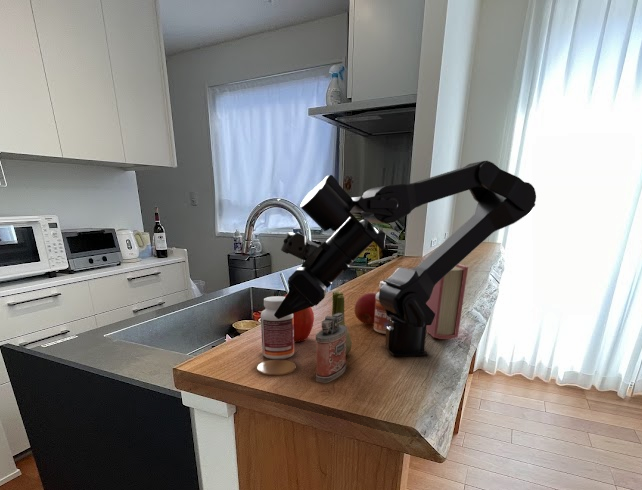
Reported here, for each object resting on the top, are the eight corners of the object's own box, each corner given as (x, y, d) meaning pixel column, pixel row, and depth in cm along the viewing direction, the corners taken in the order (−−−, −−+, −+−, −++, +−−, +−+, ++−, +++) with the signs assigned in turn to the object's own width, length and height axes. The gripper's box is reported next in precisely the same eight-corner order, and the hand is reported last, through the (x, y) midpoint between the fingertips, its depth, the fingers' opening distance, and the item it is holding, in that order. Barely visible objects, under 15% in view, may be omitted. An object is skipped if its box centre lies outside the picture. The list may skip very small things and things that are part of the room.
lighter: (329, 384, 60) (330, 323, 57) (311, 379, 62) (310, 320, 59) (350, 367, 67) (352, 312, 63) (333, 364, 69) (334, 309, 65)
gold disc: (295, 360, 71) (295, 359, 70) (296, 374, 64) (295, 373, 64) (258, 361, 71) (258, 360, 70) (255, 376, 64) (255, 374, 64)
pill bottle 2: (369, 332, 86) (371, 283, 82) (379, 325, 91) (382, 279, 87) (395, 336, 83) (399, 285, 79) (405, 329, 87) (409, 281, 84)
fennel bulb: (330, 348, 77) (330, 289, 73) (354, 350, 75) (356, 290, 71) (321, 358, 72) (322, 294, 68) (347, 360, 70) (349, 296, 66)
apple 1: (305, 332, 88) (305, 285, 84) (320, 342, 80) (320, 291, 77) (271, 336, 85) (269, 288, 82) (283, 347, 78) (282, 295, 74)
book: (432, 340, 79) (457, 341, 79) (442, 266, 74) (468, 267, 74) (415, 322, 93) (436, 323, 93) (422, 259, 88) (444, 259, 88)
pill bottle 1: (300, 355, 73) (299, 299, 69) (272, 362, 70) (270, 303, 66) (283, 347, 78) (281, 293, 74) (256, 353, 75) (253, 298, 71)
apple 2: (387, 299, 86) (378, 281, 92) (353, 313, 88) (347, 294, 94) (395, 323, 91) (386, 304, 97) (363, 335, 93) (356, 316, 99)
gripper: (314, 214, 73) (261, 272, 78) (301, 214, 56) (234, 289, 61) (354, 256, 74) (299, 310, 80) (354, 269, 57) (283, 337, 62)
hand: (280, 310), depth 71 cm, fingers open, 9 cm apart
